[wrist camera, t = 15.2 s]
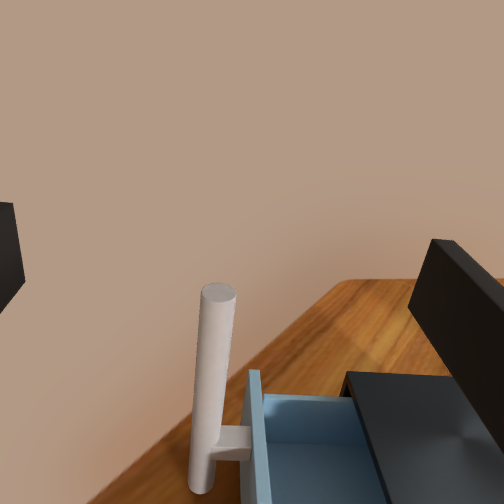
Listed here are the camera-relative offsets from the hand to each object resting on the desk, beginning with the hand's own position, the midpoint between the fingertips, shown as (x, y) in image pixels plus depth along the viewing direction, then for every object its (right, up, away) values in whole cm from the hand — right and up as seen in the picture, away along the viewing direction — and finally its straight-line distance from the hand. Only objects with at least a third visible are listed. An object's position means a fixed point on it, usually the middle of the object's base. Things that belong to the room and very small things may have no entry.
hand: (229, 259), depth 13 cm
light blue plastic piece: (+5, -22, +23) cm, 32 cm away
